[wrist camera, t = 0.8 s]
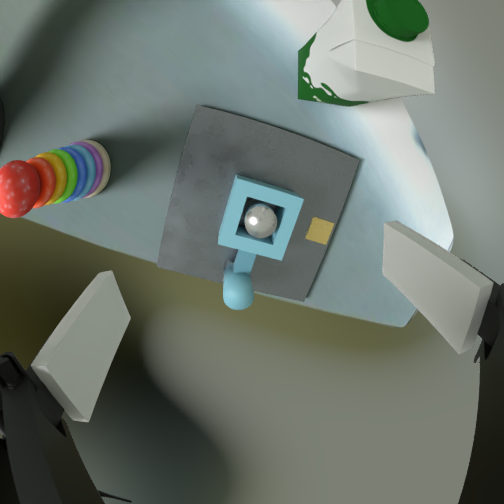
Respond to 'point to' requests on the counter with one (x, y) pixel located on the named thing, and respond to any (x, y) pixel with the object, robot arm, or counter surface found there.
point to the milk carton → (368, 54)
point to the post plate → (262, 164)
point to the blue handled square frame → (237, 237)
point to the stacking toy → (53, 177)
